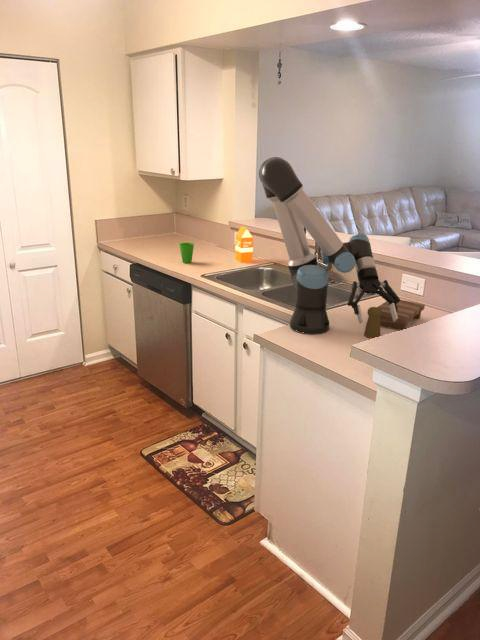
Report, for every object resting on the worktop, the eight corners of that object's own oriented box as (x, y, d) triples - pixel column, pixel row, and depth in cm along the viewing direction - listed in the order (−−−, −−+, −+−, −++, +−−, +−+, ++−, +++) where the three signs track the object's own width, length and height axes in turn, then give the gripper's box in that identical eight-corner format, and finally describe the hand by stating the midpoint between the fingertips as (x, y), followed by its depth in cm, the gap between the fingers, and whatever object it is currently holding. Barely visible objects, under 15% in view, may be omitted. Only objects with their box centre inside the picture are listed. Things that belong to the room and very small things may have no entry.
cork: (377, 332, 195) (381, 305, 191) (382, 338, 189) (385, 310, 186) (362, 332, 195) (364, 305, 191) (366, 338, 189) (369, 310, 185)
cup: (192, 264, 295) (192, 245, 292) (177, 263, 297) (176, 244, 293) (196, 261, 304) (196, 242, 300) (181, 260, 305) (181, 242, 302)
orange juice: (246, 258, 312) (247, 225, 306) (252, 261, 305) (253, 227, 298) (235, 259, 310) (235, 226, 303) (240, 262, 302) (241, 228, 295)
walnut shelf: (406, 331, 197) (408, 316, 195) (371, 323, 204) (373, 309, 202) (422, 318, 212) (424, 304, 210) (390, 311, 220) (391, 298, 218)
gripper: (392, 274, 205) (405, 323, 196) (332, 277, 201) (343, 326, 192) (400, 265, 198) (414, 315, 189) (338, 267, 194) (349, 318, 185)
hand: (378, 321), depth 191 cm, fingers open, 13 cm apart
